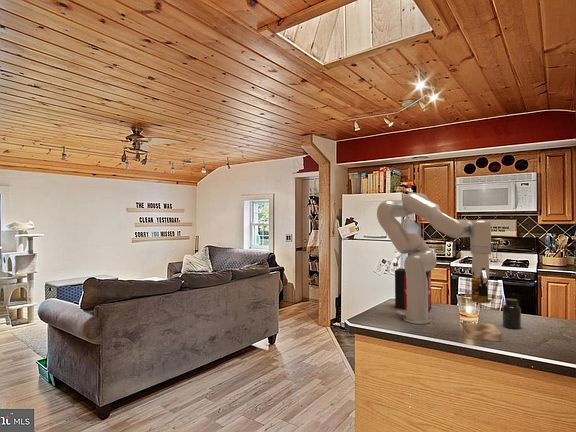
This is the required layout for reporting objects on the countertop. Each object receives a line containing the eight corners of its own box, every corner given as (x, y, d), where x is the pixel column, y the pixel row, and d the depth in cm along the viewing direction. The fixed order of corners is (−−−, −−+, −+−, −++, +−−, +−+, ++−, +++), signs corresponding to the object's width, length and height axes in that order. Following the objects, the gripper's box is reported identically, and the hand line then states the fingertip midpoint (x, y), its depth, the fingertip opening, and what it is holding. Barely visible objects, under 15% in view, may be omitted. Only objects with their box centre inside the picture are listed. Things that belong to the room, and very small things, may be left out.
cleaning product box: (395, 308, 193) (394, 270, 193) (399, 304, 201) (398, 268, 201) (428, 312, 185) (428, 272, 185) (431, 308, 193) (430, 270, 193)
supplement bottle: (523, 329, 157) (523, 301, 156) (506, 328, 158) (505, 301, 158) (517, 324, 163) (516, 298, 163) (500, 324, 165) (500, 297, 164)
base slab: (467, 338, 146) (467, 330, 146) (462, 329, 158) (462, 322, 158) (501, 341, 143) (501, 333, 143) (493, 331, 155) (493, 324, 154)
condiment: (468, 301, 150) (468, 272, 150) (473, 297, 157) (473, 269, 156) (488, 304, 145) (488, 274, 145) (492, 300, 152) (492, 271, 152)
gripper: (466, 248, 159) (467, 289, 160) (474, 252, 143) (475, 298, 143) (486, 248, 157) (486, 290, 157) (496, 252, 141) (497, 299, 141)
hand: (481, 293), depth 150 cm, fingers closed on condiment, 6 cm apart
